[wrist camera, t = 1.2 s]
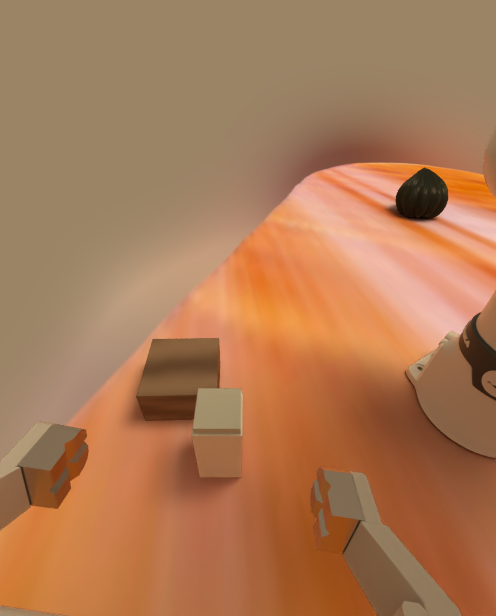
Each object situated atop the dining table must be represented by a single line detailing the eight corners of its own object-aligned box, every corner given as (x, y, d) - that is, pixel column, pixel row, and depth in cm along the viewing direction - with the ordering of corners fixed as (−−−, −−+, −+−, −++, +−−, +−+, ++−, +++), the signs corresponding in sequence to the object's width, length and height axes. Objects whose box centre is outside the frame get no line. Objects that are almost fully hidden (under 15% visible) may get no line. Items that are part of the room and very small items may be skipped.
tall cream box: (204, 436, 39) (196, 386, 32) (241, 436, 39) (242, 387, 32) (200, 477, 35) (190, 430, 28) (241, 477, 35) (242, 430, 28)
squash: (451, 212, 88) (460, 163, 88) (397, 207, 92) (406, 160, 92) (434, 228, 102) (442, 186, 102) (387, 223, 106) (395, 182, 106)
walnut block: (159, 364, 49) (152, 339, 45) (220, 363, 49) (218, 338, 45) (145, 421, 41) (136, 396, 37) (218, 419, 41) (216, 394, 37)
